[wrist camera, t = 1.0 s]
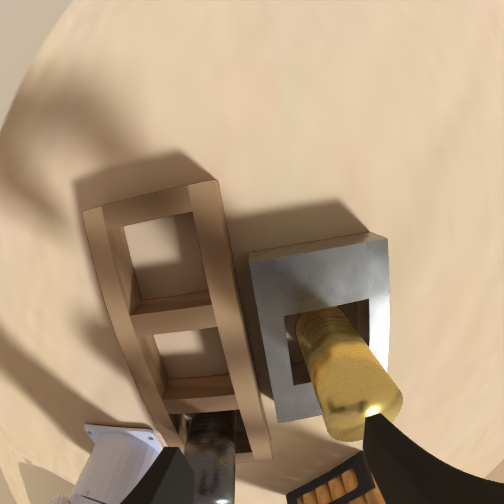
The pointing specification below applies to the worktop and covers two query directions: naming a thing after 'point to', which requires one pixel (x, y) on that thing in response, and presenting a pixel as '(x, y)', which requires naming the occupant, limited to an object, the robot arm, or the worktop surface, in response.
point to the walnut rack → (180, 316)
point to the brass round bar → (344, 374)
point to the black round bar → (212, 456)
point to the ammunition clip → (341, 486)
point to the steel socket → (318, 305)
